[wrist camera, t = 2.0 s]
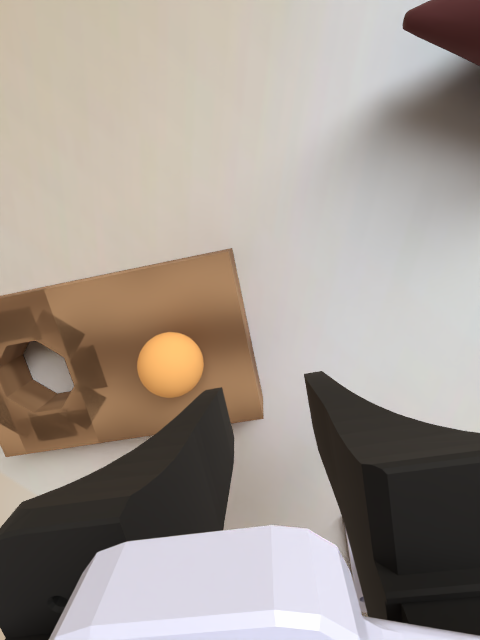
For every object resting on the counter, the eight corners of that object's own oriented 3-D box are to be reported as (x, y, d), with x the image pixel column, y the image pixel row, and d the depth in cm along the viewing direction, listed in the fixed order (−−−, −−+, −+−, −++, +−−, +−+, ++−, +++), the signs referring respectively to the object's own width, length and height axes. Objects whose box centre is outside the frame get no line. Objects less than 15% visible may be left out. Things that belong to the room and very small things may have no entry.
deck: (262, 398, 23) (263, 418, 20) (27, 434, 24) (2, 457, 22) (232, 248, 20) (228, 251, 18) (-29, 301, 22) (-64, 311, 20)
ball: (213, 374, 20) (204, 404, 16) (157, 384, 20) (138, 415, 17) (200, 319, 19) (187, 339, 16) (142, 329, 19) (118, 351, 16)
